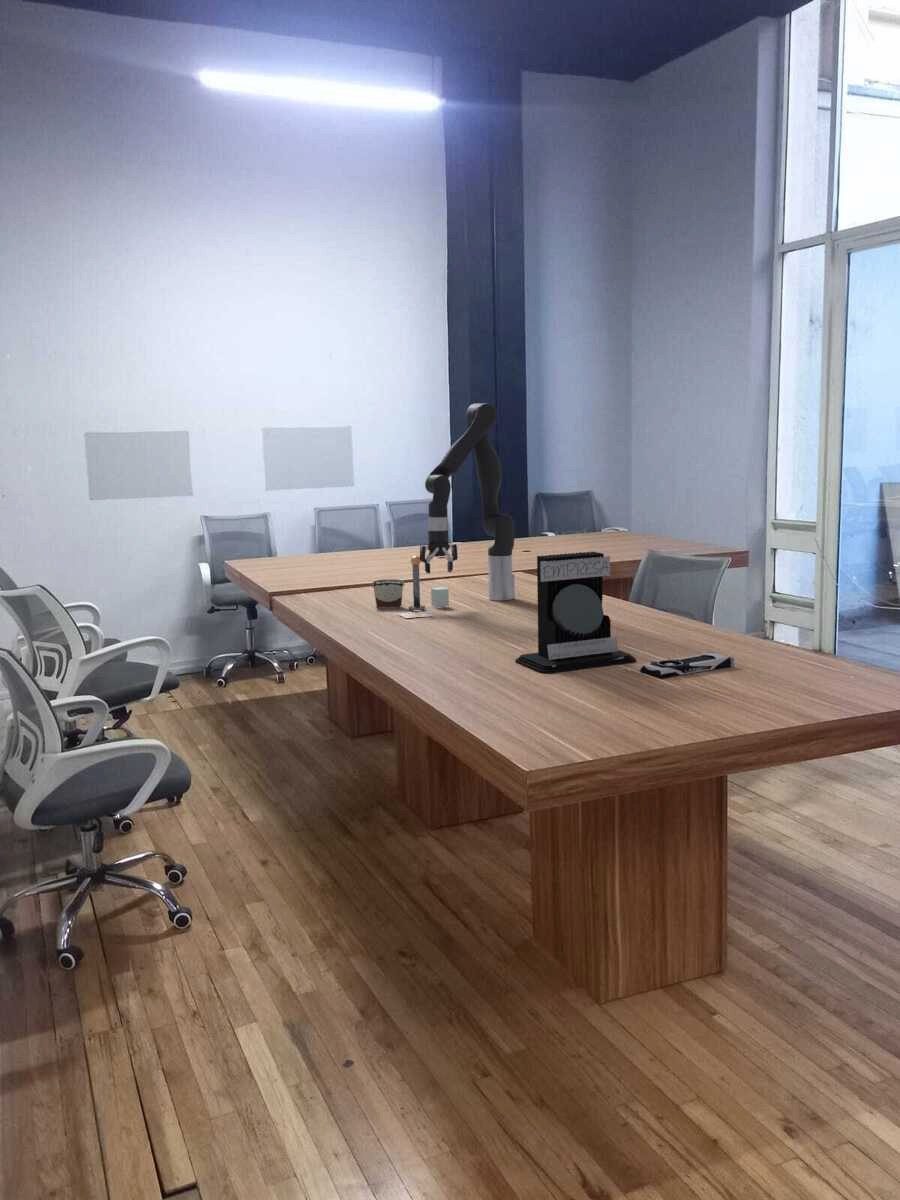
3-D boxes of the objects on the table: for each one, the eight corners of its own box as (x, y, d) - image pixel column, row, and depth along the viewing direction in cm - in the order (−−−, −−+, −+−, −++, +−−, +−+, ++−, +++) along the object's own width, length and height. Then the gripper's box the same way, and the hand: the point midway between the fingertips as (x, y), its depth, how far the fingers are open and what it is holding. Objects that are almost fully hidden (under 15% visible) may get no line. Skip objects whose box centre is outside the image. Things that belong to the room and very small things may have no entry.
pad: (422, 612, 369) (422, 611, 369) (433, 616, 360) (433, 615, 360) (397, 614, 365) (396, 613, 365) (406, 619, 356) (406, 618, 356)
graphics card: (734, 656, 273) (660, 668, 261) (734, 668, 273) (660, 681, 262) (708, 650, 282) (636, 661, 270) (708, 661, 282) (636, 673, 271)
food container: (407, 604, 386) (406, 578, 385) (405, 607, 380) (404, 581, 379) (375, 605, 388) (374, 579, 386) (372, 607, 382) (371, 581, 380)
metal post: (421, 608, 378) (420, 554, 375) (427, 610, 373) (426, 556, 370) (406, 609, 376) (404, 555, 373) (412, 611, 371) (410, 557, 367)
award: (543, 675, 270) (542, 563, 265) (511, 661, 287) (509, 556, 282) (640, 662, 282) (640, 554, 277) (604, 649, 299) (603, 548, 294)
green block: (443, 605, 383) (443, 587, 382) (448, 607, 379) (448, 588, 378) (431, 606, 381) (431, 588, 380) (436, 608, 377) (435, 589, 376)
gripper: (452, 527, 381) (452, 570, 384) (416, 529, 376) (417, 572, 378) (459, 528, 375) (460, 572, 377) (423, 530, 369) (424, 574, 372)
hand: (438, 572), depth 378 cm, fingers open, 8 cm apart
